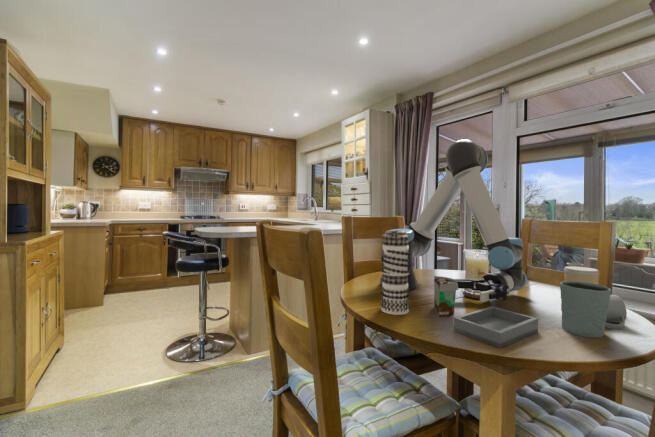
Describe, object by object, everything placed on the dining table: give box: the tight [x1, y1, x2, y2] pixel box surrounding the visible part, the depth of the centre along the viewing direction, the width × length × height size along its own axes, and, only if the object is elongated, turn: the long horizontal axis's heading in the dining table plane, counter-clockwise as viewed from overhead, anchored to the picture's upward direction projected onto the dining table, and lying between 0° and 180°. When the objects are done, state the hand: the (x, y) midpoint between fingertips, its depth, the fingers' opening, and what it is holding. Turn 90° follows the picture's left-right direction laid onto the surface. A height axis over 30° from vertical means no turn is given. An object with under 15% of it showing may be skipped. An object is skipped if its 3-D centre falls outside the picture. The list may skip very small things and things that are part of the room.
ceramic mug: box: [605, 294, 628, 330], centre depth 86 cm, size 11×8×8 cm
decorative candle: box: [380, 229, 411, 316], centre depth 96 cm, size 9×9×25 cm
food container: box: [433, 275, 459, 318], centre depth 94 cm, size 12×6×10 cm, turn 168°
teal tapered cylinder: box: [559, 280, 612, 339], centre depth 80 cm, size 10×10×12 cm
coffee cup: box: [563, 265, 601, 285], centre depth 104 cm, size 9×9×12 cm
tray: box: [453, 306, 539, 349], centre depth 79 cm, size 12×18×4 cm, turn 123°
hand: (460, 292), depth 96 cm, fingers open, 13 cm apart
